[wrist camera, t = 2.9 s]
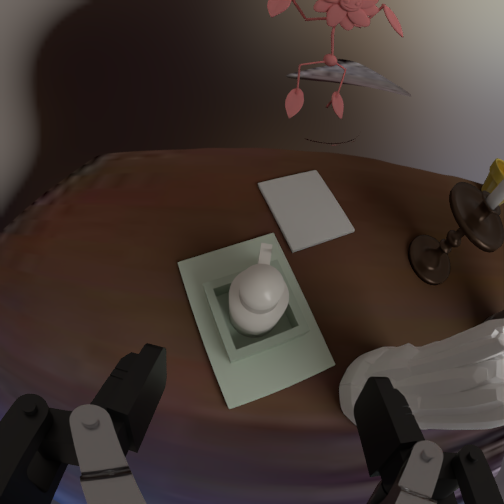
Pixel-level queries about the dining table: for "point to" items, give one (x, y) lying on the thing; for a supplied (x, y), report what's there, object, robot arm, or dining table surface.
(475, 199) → the candlestick
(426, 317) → the dining table surface
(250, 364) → the tray
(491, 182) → the plant pot
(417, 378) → the decorative vase
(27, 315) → the dining table surface
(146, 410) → the robot arm
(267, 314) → the cream jug
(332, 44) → the figurine
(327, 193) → the grey mat
